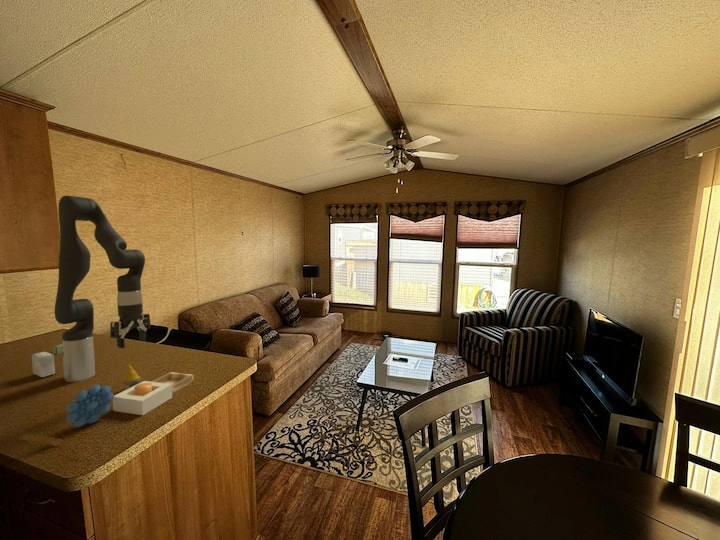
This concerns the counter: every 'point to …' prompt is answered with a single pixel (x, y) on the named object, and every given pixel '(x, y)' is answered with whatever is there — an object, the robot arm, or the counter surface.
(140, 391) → the button
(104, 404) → the grapes
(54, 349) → the medication box
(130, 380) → the drill bit
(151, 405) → the frame
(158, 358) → the counter surface
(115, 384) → the counter surface
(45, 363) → the medicine box
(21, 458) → the counter surface
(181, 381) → the tray
